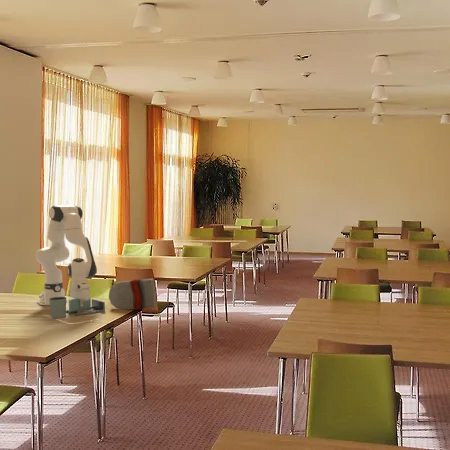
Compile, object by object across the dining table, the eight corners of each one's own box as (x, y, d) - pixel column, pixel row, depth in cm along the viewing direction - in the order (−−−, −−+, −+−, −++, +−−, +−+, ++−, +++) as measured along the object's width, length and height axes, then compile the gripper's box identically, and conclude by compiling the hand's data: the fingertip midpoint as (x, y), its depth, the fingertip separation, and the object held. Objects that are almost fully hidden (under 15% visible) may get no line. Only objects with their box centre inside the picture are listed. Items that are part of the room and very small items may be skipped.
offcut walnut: (76, 313, 410) (76, 310, 410) (92, 311, 414) (92, 309, 414) (78, 314, 407) (77, 311, 407) (94, 312, 411) (94, 310, 411)
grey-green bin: (70, 316, 404) (69, 297, 403) (59, 319, 395) (58, 300, 394) (57, 315, 409) (57, 296, 408) (46, 318, 400) (45, 298, 399)
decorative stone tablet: (154, 277, 425) (109, 281, 428) (152, 278, 418) (106, 283, 422) (157, 306, 426) (112, 310, 429) (155, 308, 420) (109, 312, 423)
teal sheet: (69, 314, 413) (68, 299, 412) (89, 310, 421) (88, 296, 421) (70, 314, 411) (70, 300, 410) (90, 311, 420) (90, 297, 419)
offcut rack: (64, 313, 413) (64, 302, 412) (93, 309, 426) (93, 298, 425) (75, 317, 401) (75, 306, 401) (105, 312, 414) (104, 301, 414)
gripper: (67, 283, 421) (67, 304, 422) (82, 286, 405) (82, 309, 406) (76, 282, 425) (76, 303, 426) (91, 285, 409) (92, 307, 410)
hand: (79, 306), depth 416 cm, fingers closed on teal sheet, 2 cm apart
